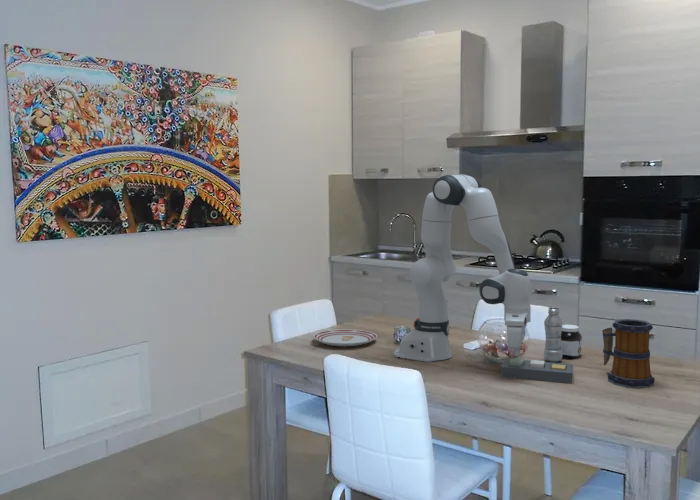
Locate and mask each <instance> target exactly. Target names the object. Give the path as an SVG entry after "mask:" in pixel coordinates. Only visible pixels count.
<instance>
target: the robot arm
mask: <svg viewBox="0 0 700 500" xmlns="http://www.w3.org/2000/svg"><path fill="white" fill-rule="evenodd" d="M496 204H497V203H496V201H495V198H494V196H493V193H492V191H491V190H489V189H488V188H486V187H483V186H482V183H481V181H480V180H479V179H478V178H477V177H476V176H474V175H470V174H462V173H461V174H459V173H456V174H445V175H442V176H439V177H438V178H437V179H435V181H434V183H433V185H432V191H431V192H430V193H428V194H427V195H426V197H425V201H424V204H423V210H422V216H421V217H422V218H421V234H420V239H421V240H420V241H421V243H422V244H423V246H424V253H425V257H424V258H423V257H422V258H420V259H418V260H416V261H415V262H414V263H412V265H411V266H410V268H409V272H408V276H409V279H410V282H412V283H413V285H414V287H415V291H416V293H417V294H416V295H417V299H418V317H417V318H416V319H415V321H414V322H413V329H412V330H411V331H409V332H408V333H407V334H406V335H404V336H403V337H402V338H401V340H400V343H399V347H398V348H397V349H395V350H394V351H393V356H394V357H395V358H398V357H400V359H405V358H406V359H407V360H413V361H420V362H426V363H431V362H435V361H443V360H448V359H451V358H452V357H453V354H452V350H451V346H450V340H449V338H450V337H449V334H450V320H449V319H448V318H449V316H448V315H449V312H448V310H449V309H448V308H449V307H448V305H449V303H448V302H449V301H448V299H447V297H446V296H445V293H444V289H443V283H446V282H448V281H449V280H450V279H451V278H453V276H455V273H456V271H457V265H456V262H455V259H454V258H453V254H452V246H451V233H452V220H453V219H452V216H453V210H454V208H455V207H457V206H462V208H463V209H464V211H465V215H466V221H467V226H468V227H467V228H468V230H469V234H470V236H471V238H472V239H473V240H475V242H476V243H479V244H481V245H483V246H485V247H486V248H488V249H489V250H490V251H491V252H492V254H493V256H494V259H495V263H496V267H497V271H498V274H497V275H495V276H491V277H488V278H485V279H483V281H481V283H480V286H479V288H478V289H479V295H480V298H481V299H482V301H483V302H484V303H485V304H488V305H497V304H499V305H500V304H502V305H503V309H504V310H503V311H504V313H503V315H504V317H503V321H504V326H506V336H507V347H508V348H509V349H513V355H514V356H515V357H519V356H520V354H521V347H522V343H523V341H524V339H525V337H526V327H528V326H527V325H528V323H531V322H532V321H531V313H532V310H531V308H532V307H531V304H530V301H531V300H530V299H531V296H532V295H531V294H532V293H531V292H532V290H531V279H530V275H529V273H528V272H526V271H525V270H523V269H518V268H516V265H515V264H516V263H515V261H514V258H513V253H512V250H511V247H510V243H509V241H508V238H507V236H506V235H505V233H504V231H503V228H502V225H501V221H500V216H499V212H498V208H497V207H498V206H497V205H496Z"/></svg>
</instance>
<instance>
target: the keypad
mask: <svg viewBox="0 0 700 500" xmlns="http://www.w3.org/2000/svg"><path fill="white" fill-rule="evenodd" d="M510 359H511V358H505V359H504V361H503V362H502V365H501V366H500V376H501V377H500V378H508V379H521V380H530V381H531V380H532V381H543V382H551V383H562V384H573V379H574V378H573V377H574V364H573V363H565V362H564V363H561V362H550V361H545V366H544V368H536V367H530V363H531V360H526V359H524V365H523V366H513V365H509V361H510ZM552 364H557V365H566V370H559V369H552Z"/></svg>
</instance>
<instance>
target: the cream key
mask: <svg viewBox="0 0 700 500" xmlns="http://www.w3.org/2000/svg"><path fill="white" fill-rule="evenodd" d="M530 361H531V363H530V367H536V368H544V366H545V362H546V360H537V359H536V360H535V359H531V360H530Z"/></svg>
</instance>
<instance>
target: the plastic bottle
mask: <svg viewBox="0 0 700 500" xmlns="http://www.w3.org/2000/svg"><path fill="white" fill-rule="evenodd" d="M547 314H548V315H547V316H546V317H545V319H544V321H543V325H544V333H545V344H544V350H543V357H544V361H545V362H552V363H560V362H561V361H562V360H563V358H562V357H563V354H562V349H561V332H562V326H563V325H564V324H563V323H564V322H563V320H562V318H561V316H559V314H560V308H558V307H549V308H548V312H547Z"/></svg>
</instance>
